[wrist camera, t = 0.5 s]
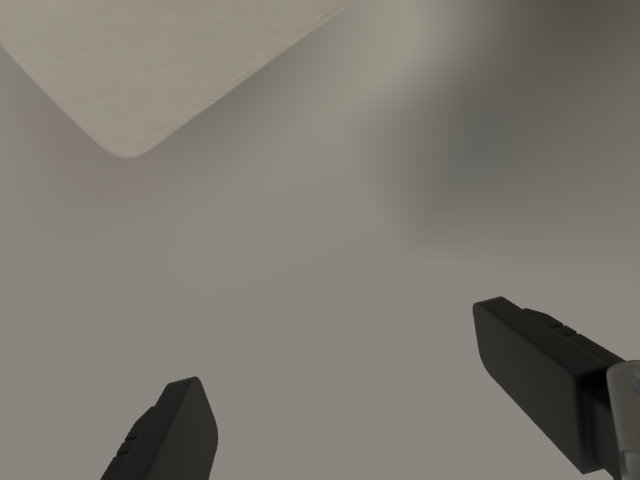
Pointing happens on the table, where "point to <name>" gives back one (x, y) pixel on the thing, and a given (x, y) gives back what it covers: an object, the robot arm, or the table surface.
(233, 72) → the table surface
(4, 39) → the table surface
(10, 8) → the table surface
